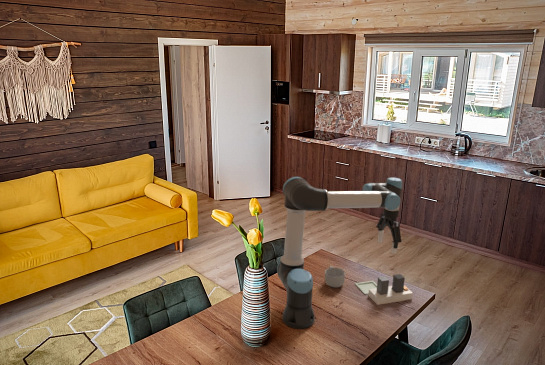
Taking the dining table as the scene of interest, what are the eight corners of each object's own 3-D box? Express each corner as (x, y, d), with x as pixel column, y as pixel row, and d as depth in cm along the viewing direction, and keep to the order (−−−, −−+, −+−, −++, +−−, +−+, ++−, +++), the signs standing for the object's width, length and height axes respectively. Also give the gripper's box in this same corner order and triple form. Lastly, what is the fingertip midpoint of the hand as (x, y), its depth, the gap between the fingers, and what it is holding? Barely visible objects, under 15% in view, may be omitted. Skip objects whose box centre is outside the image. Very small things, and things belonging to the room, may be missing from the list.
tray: (364, 295, 222) (364, 293, 222) (354, 284, 232) (355, 283, 232) (383, 292, 225) (383, 290, 225) (372, 282, 235) (373, 280, 235)
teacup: (345, 290, 226) (346, 276, 224) (324, 289, 226) (325, 276, 224) (341, 277, 240) (342, 264, 237) (322, 276, 240) (323, 263, 237)
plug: (402, 296, 220) (404, 277, 216) (395, 298, 218) (397, 278, 215) (398, 292, 223) (400, 274, 220) (391, 293, 222) (393, 275, 219)
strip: (377, 305, 213) (379, 284, 210) (368, 296, 221) (370, 275, 218) (411, 299, 219) (414, 279, 215) (401, 290, 227) (404, 270, 224)
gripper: (412, 217, 202) (406, 257, 207) (385, 200, 225) (380, 237, 230) (398, 218, 200) (392, 259, 205) (372, 200, 223) (368, 238, 228)
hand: (386, 247), depth 218 cm, fingers open, 13 cm apart
